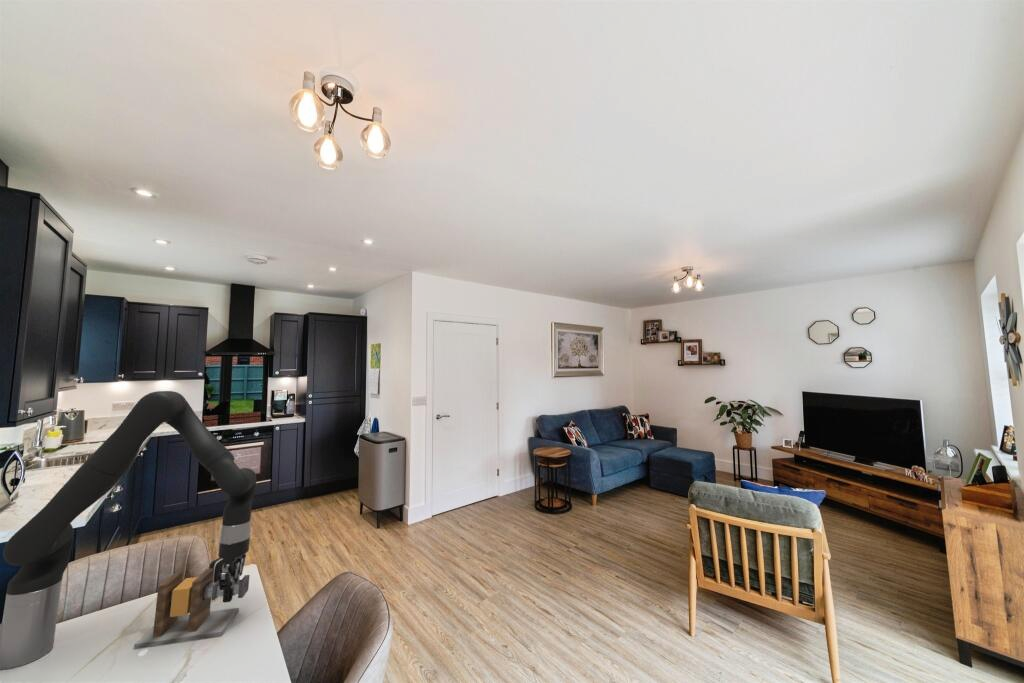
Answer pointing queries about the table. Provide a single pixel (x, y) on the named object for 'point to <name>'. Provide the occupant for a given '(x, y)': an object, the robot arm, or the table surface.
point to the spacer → (181, 598)
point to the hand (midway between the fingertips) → (229, 598)
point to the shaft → (214, 590)
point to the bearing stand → (186, 626)
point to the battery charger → (216, 568)
